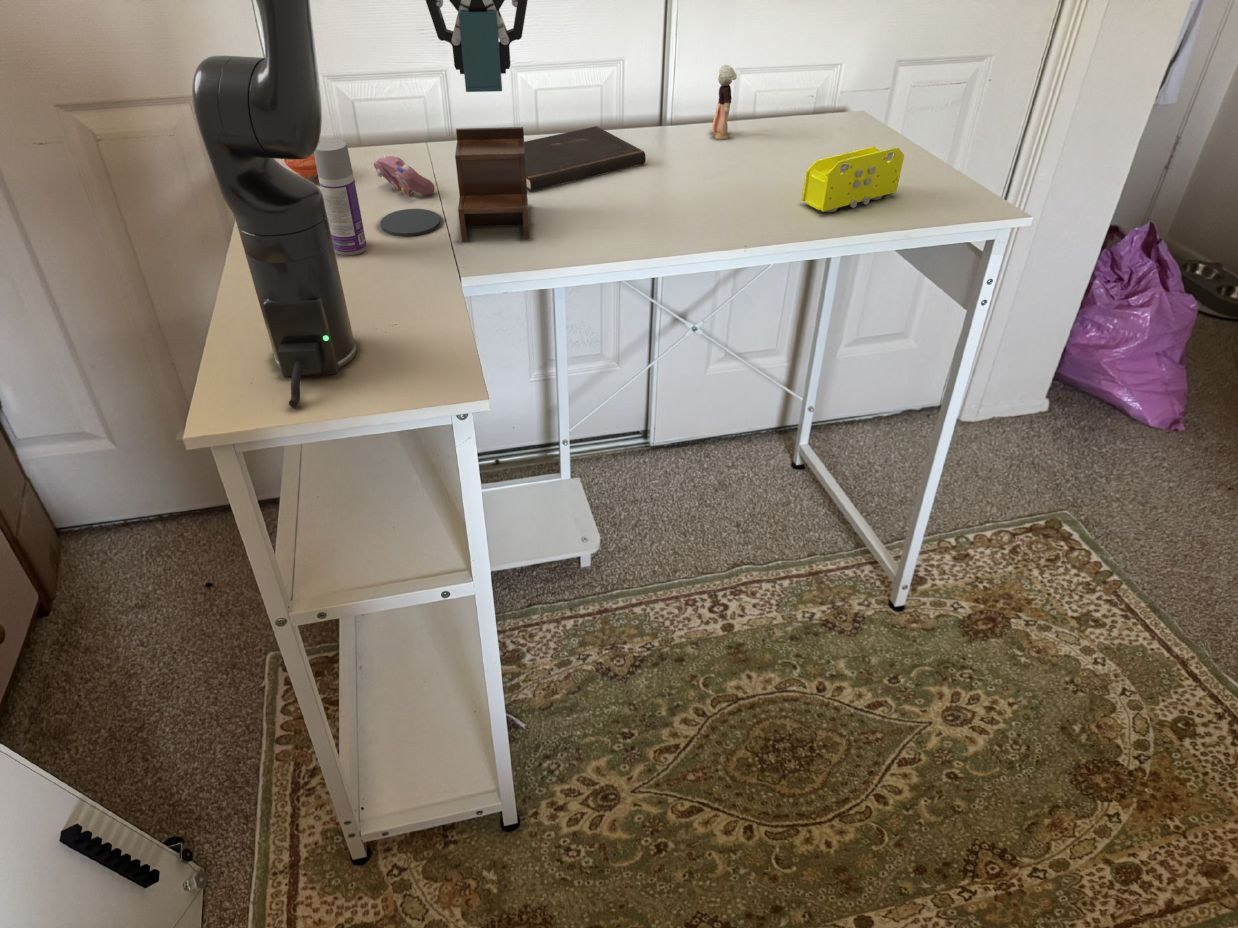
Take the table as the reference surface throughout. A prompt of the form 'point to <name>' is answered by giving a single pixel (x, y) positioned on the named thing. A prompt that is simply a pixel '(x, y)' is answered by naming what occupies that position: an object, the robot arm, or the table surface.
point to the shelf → (491, 178)
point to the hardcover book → (577, 157)
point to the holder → (480, 51)
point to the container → (340, 196)
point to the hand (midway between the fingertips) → (483, 72)
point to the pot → (303, 166)
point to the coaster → (410, 222)
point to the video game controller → (402, 176)
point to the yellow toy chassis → (852, 178)
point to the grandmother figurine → (723, 102)
